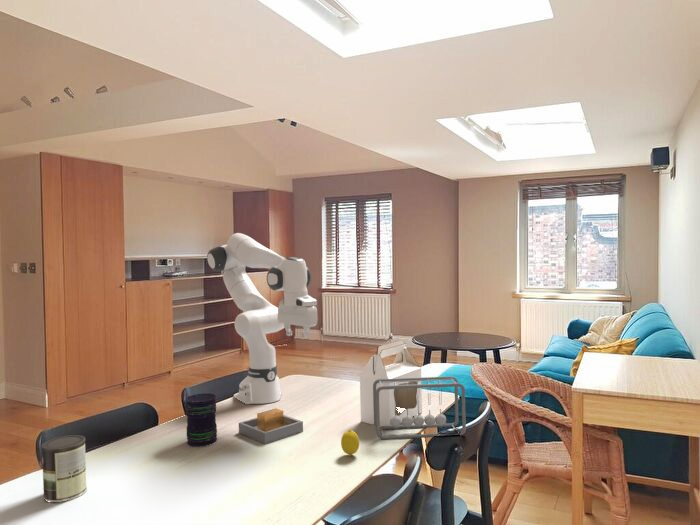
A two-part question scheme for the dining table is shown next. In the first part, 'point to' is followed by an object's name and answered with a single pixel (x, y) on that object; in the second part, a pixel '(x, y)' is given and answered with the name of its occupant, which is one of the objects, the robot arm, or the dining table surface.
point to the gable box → (388, 398)
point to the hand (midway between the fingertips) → (297, 336)
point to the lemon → (350, 442)
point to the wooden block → (270, 420)
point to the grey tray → (288, 429)
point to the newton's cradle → (418, 418)
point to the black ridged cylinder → (201, 420)
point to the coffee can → (64, 468)
